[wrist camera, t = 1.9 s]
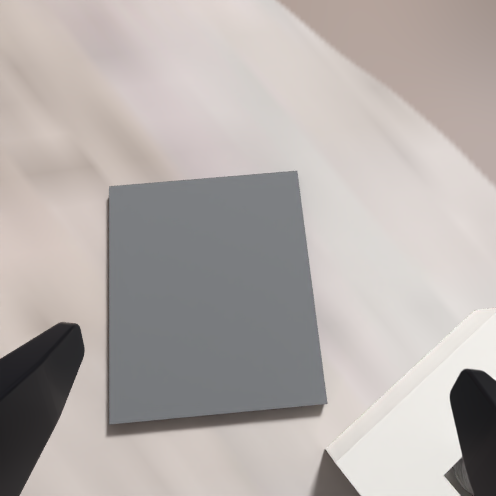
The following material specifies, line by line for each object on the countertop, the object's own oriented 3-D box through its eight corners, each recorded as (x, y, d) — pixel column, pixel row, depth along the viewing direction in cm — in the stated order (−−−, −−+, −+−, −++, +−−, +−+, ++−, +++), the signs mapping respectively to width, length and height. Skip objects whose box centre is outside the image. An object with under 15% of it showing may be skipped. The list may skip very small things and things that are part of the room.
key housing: (639, 484, 20) (692, 504, 18) (488, 656, 19) (524, 704, 16) (474, 310, 23) (502, 306, 20) (325, 448, 21) (335, 462, 18)
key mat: (325, 402, 21) (327, 403, 21) (113, 422, 21) (109, 424, 21) (296, 174, 25) (297, 170, 24) (112, 190, 24) (109, 186, 24)
